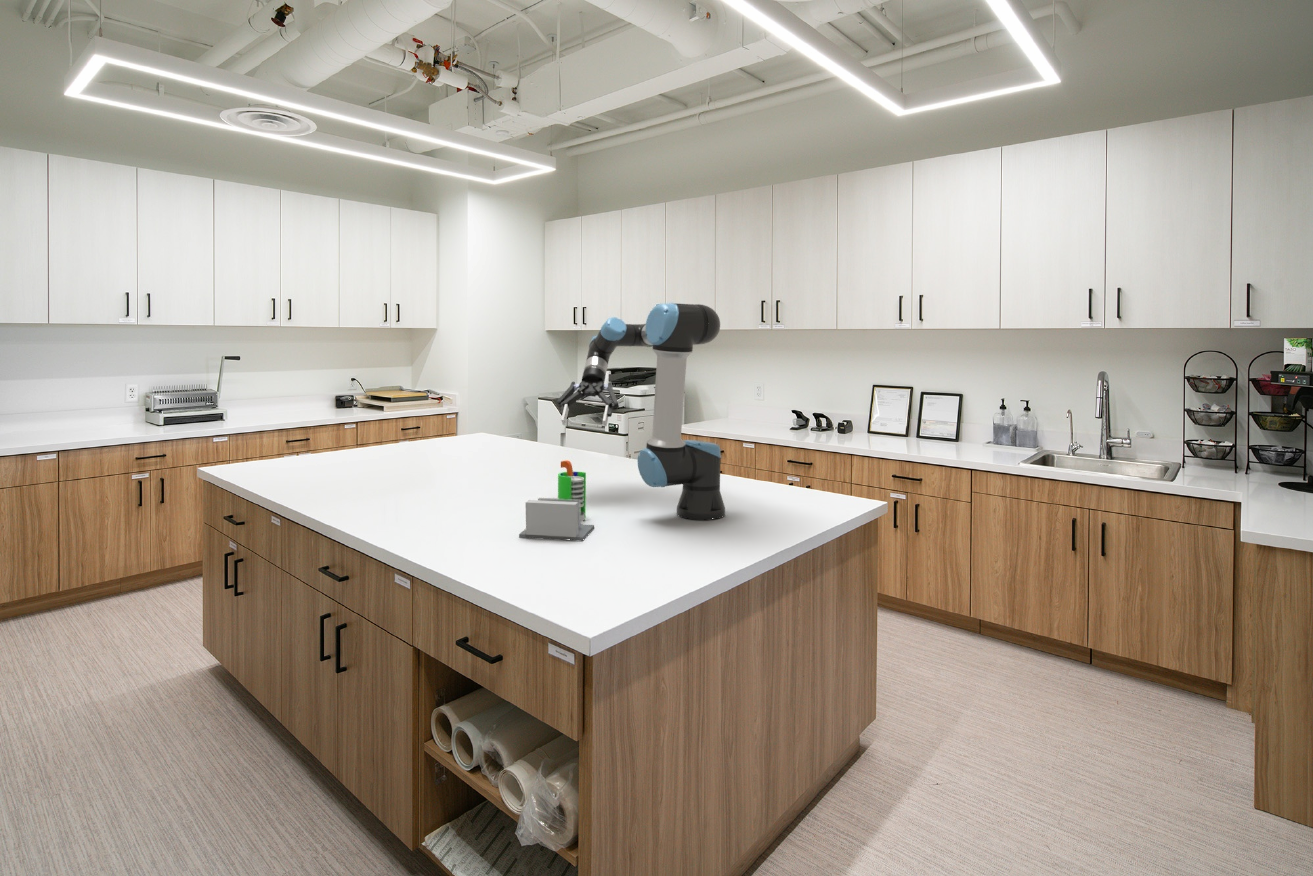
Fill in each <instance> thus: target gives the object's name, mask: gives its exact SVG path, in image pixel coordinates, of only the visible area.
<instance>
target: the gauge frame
mask: <svg viewBox="0 0 1313 876" xmlns="http://www.w3.org/2000/svg"><path fill="white" fill-rule="evenodd" d="M594 529H595V524H581V527H580V528H578V502H563V501H540V500H538V499H529V500H527V501H526V502H525V528H524V530H523V531H521V532H520V533H519V534H518V538H520V539H535V538H543V539H542V540H554V539H570V540H569V541H573V540H582V541H581V542H584V540H585V539H586V538H587V537H588V536H589V535H590V534H591V532H592V531H593V530H594ZM589 533H590V534H589ZM588 534H589V535H588ZM586 536H587V537H586ZM583 539H584V540H583Z"/></svg>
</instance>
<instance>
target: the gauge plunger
mask: <svg viewBox="0 0 1313 876" xmlns="http://www.w3.org/2000/svg"><path fill="white" fill-rule="evenodd" d="M537 500H540V501H563V502H578V528H580V527H581V523H582V522H581V506H580V499H558V497H557V498H555V497H553V498H552V497H539V498H538V497H537Z"/></svg>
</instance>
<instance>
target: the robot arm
mask: <svg viewBox="0 0 1313 876" xmlns="http://www.w3.org/2000/svg"><path fill="white" fill-rule="evenodd" d="M720 328H721V320H720V317H719V315H718V313H717V312H716V311H715V310H714V309H713V308H712V307H710V306H708V305H705V304H700V303H698V304H693V303H674V302H667V303H658V304H656V305H655V306H653V308H652V310H650V311H649V313H648V315H647V318H646V321H645V323H640V324H639V323H638V324H637V323H635V324H634V323H633V324H632V323H629V324H628V323H625V321H623V319H620V318H618V317H616V316H612V317H611V316H610V317H609V318H607V319H606V320H605V322H604V323H603V324H602V326H601V327H600V330H599V331H598V334H596V335H594V336H593V337H592V338H591V340H590V343H589V346H588V352H587V357H586V359H585V360H586V361H585V364H584V368H583V372H582V377H581V382H580V383H576V382H575V381H571V383H570V385H569V387H568V388H567V389H566V390H565V391H564V392H563V393H562V395H561V396H560V397H559V398H558V399H557V400H556V402H557V406H558V408H560V414H561V415H560V416H561V420H560V421H561V423H562V425H563V426H566V423H567V418H568V414H569V411H570V409H569V407H570V406H572V405H573V404H574V403H576V402H577V401H579V400H580V399H583V398H584V397H595V398H596V396H597V397H598V398H599V399H600V400H601V402H603V404H605V408H604V413H603V419H602V423H603V427H607V425H608V420H609V418H611V417H612V414H613V410H614V409H619V408H620V405H619V401H618V399H617V396H616V394H615V392H614V390H613V383H612V382H611V381H609V382H608V383H607V384H605V380H606V377H607V375H606V374H607V372H608V371H607V370H608V365H609V361H610V358H611V355H612V354H613V352H614V351H615V349H617V348H618V347H647V348H651V347H652V351H653V352H654V353H655V355H656V367H655V368H656V370H655V387H654V399H653V400H654V404H653V419H652V433H651V436H650V437H649V438H648V439H647V440H646V444H645V448H643V449H642V450H640V451H639V453H638V455H637V469H638V472H639V475H640V476H641V479H642V480H643V482H644V483H645V484H646V485H647V486H649V487H651V488H665V487H671V486H678V485H682V491H681V493H680V497H679V500H678V502H677V506H676V515H677V516H678V515H679V516H678V517H681V518H684V519H687V518H690V519H689V520H695V519H697V520H698V521H699V520H700V519H702V520H700V521H705V520H704V519H711V520H713V519H712V518H718V519H720V518H719V517H721V518H723V517H725V516H726V507H725V503H724V500H723V497H722V494H721V459H722V456H721V447H720V445H719V444H717V443H714V442H709V441H702V440H694V439H685V440H683V439H682V427H683V413H684V412H683V411H684V399H685V387H686V374H687V371H686V370H687V359H688V357H689V356H690V355H691V354H692V353H693V351H694V350H693V349H694V347H693V346H694V345H695V346H696V345H705V344H707V343H708V344H709V343H710V342H712V341H714V340H715V339H716V337H717V336H719V333H720ZM604 390H606V391H607V392H608V394H609V397H610V399H611V400H610V399H609V398H608V397H607V395H606V394H605V393H604ZM724 515H725V516H724ZM722 516H723V517H722ZM697 520H696V521H697Z"/></svg>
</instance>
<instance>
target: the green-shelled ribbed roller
mask: <svg viewBox="0 0 1313 876" xmlns="http://www.w3.org/2000/svg"><path fill="white" fill-rule="evenodd" d="M560 468H563V469H564V468H565V469H566V471H562V472H559V473H558V476H557V499H580V506H581V523H583V522H584V521H585V518H586V506H587V505H586V501H587V500H586V498H587V497H586V492H587V489H586V487H587V485H586V484H587V483H586V481H587V475H586V474H587V473H586V472H584V471H574V470H573V465H572V462H571V461H570V460H562V461H560ZM583 520H584V521H583ZM582 521H583V522H582Z"/></svg>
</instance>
